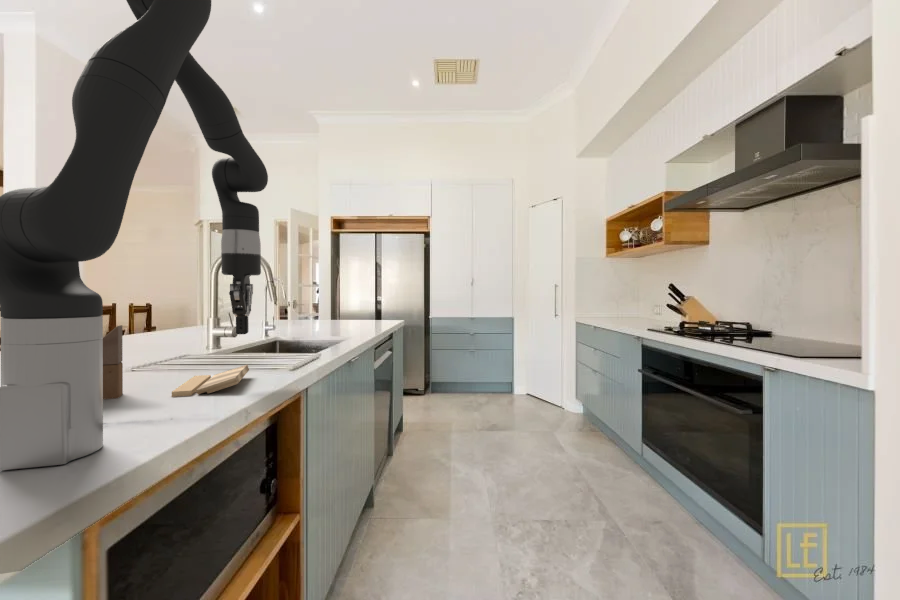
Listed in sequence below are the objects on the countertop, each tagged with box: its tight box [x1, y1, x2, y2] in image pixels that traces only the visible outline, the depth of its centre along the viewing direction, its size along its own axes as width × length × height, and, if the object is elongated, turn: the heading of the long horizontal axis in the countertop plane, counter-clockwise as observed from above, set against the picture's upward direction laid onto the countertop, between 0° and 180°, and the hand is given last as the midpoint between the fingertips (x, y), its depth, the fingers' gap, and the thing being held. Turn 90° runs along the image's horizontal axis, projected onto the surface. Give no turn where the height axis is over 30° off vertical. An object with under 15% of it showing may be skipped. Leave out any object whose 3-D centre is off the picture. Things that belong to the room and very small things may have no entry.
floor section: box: [171, 374, 212, 398], centre depth 88 cm, size 17×12×2 cm
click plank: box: [196, 364, 250, 395], centre depth 88 cm, size 16×7×1 cm, turn 18°
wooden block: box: [103, 324, 124, 400], centre depth 76 cm, size 4×11×18 cm, turn 118°
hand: (242, 333), depth 89 cm, fingers closed
